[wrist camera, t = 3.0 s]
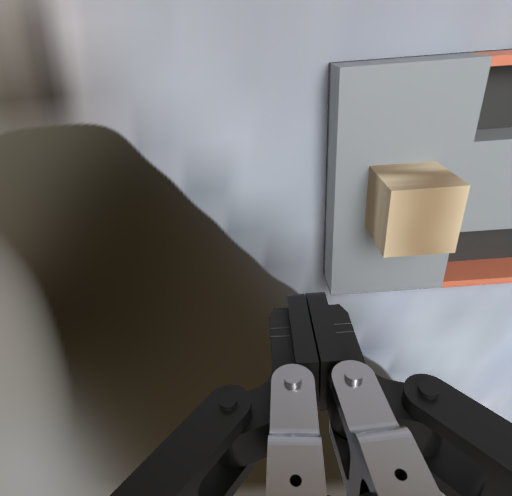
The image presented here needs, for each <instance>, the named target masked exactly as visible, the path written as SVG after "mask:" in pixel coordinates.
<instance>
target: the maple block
mask: <svg viewBox="0 0 512 496" xmlns="http://www.w3.org/2000/svg"><path fill="white" fill-rule="evenodd" d="M469 190H470V185H469V184H468V183H466V182H465V181H464V180H462V179H461V178H459V177H458V176H457V175H455V174H454V173H452V172H451V171H450V170H448V169H447V168H445V167H444V166H443V165H441V164H440V163H438V162H437V161H431V162H417V163H403V164H389V165H376V166H369V177H368V188H367V200H366V212H365V224H364V226H365V227H366V229H367V231H368V232H369V234H370V236H371V238H372V239H373V241H374V243H375V244H376V246H377V248H378V249H379V251H380V253H381V254H382V256H383V258H387V257H402V256H416V255H430V254H445V253H455V251H456V247H457V242H458V238H459V233H460V229H461V225H462V220H463V216H464V211H465V207H466V203H467V198H468V194H469Z"/></svg>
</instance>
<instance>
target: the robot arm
mask: <svg viewBox="0 0 512 496" xmlns="http://www.w3.org/2000/svg"><path fill="white" fill-rule="evenodd" d="M269 325H270V339H271V354H272V374H271V376H270V378H269V379H268V380H267V381H266V383H264V384H263V385H262V386H260V387H258V388H255V389H253V390H250V391H246V390H245V389H244V388H242V387H240V386H236V385H225V386H222V387H219V388H217V389H216V390H214V391H213V392H212V393H211V394H210V395H209V396H208V397H207V398H206V399H205V400H204V401H203V402H202V403H201V404H200V405H199V406H198V407H197V408H196V409H195V410H194V411H193V412H192V413H191V414H190V415H189V416H188V417H187V418H186V419H185V420H184V421H183V422H182V423H181V424H180V425H179V426H178V427H177V428H176V429H175V430H174V431H173V432H172V433H171V434H170V435H169V436H168V437H167V439H165V440H164V441H163V442H162V443H161V445H159V446H158V448H156V449H155V450H154V452H153V453H152V454H151V455H150V456H149V457H148V458H147V459H146V460H145V461H144V462H143V463H142V464H141V465H140V466H139V467H138V468H137V469H136V470H135V471H134V472H133V473H132V474H131V475H130V476H129V477H128V478H127V479H126V480H125V481H124V482H123V483H122V484H121V485H120V486H119V487H118V488H117V489H116V490H115V491H114V492H113V493H112V494H111V495H110V496H233V495H234V494H235V492H236V491H237V489H238V488H239V487H240V485H241V484H242V483H243V481H244V480H245V479H246V477H247V476H248V475H249V473H250V472H251V470H252V469H253V468H254V466H255V464H256V461H258V460H260V459H263V458H265V457H267V477H266V496H329V495H327V492H326V481H325V471H324V460H323V450H322V440H321V435H320V433H319V423H318V412H317V411H318V401H319V407H320V411H323V410H328V414H329V419H330V426H329V431H330V435H331V439H332V442H333V446H334V449H335V453H336V456H337V460H338V463H339V467H340V470H341V474H342V477H343V481H344V485H345V489H346V494H347V496H442V495H441V493H440V491H441V492H442V493H444V494H445V495H446V496H512V423H511V422H509V421H507V420H506V419H504V418H503V417H501V416H499V415H498V414H496V413H494V412H493V411H491V410H489V409H488V408H486V407H485V406H483V405H481V404H480V403H478V402H476V401H475V400H473V399H471V398H470V397H468V396H467V395H465V394H463V393H462V392H460V391H458V390H457V389H455V388H453V387H452V386H450V385H448V384H447V383H445V382H444V381H442V380H440V379H438V378H437V377H434V376H431V375H427V374H415V375H412V376H410V377H409V378H407V379H406V381H405V383H403V382H398V381H393V380H388V379H385V378H382V377H380V376H378V375H376V374H375V373H374V372H373V370H372V369H371V368H370V367H369V366H367V365H366V363H365V361H364V358H363V355H362V352H361V349H360V346H359V344H358V341H357V338H356V335H355V333H354V329H353V326H352V324H351V321H350V318H349V315H348V312H347V311H346V310H345V309H344V308H343V307H342V306H340V305H339V304H336V305H328V302H327V298H326V295H325V293H324V292H319V293H306V294H290V295H286V308H278V309H273V311H272V313H271V315H270V317H269ZM439 490H440V491H439Z"/></svg>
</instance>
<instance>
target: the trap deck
mask: <svg viewBox="0 0 512 496" xmlns="http://www.w3.org/2000/svg"><path fill="white" fill-rule="evenodd" d="M431 161H437V162H438V163H440V164H441V165H443V166H444V167H445V168H447V169H448V170H450V171H451V172H452V173H454V174H455V175H457V176H458V177H459V178H461V179H462V180H464V181H465V182H466V183H468V184H469V185H470V190H469V194H468V198H467V203H466V207H465V211H464V216H463V220H462V225H461V229H460V233H459V238H458V242H457V247H456V251H455V253H445V254H430V255H416V256H402V257H387V258H383V256H382V254H381V253H380V251H379V249H378V248H377V246H376V244H375V243H374V241H373V239H372V238H371V236H370V234H369V232H368V231H367V229H366V227H365V226H364V224H365V212H366V200H367V188H368V177H369V166H376V165H389V164H403V163H417V162H431ZM324 275H325V278H326V281H327V284H328V287H329V291H330V294H331V295H339V294H354V293H368V292H383V291H398V290H412V289H427V288H442V287H456V286H471V285H486V284H500V283H512V49H503V50H489V51H476V52H463V53H450V54H437V55H424V56H410V57H397V58H384V59H371V60H358V61H344V62H331V63H329V90H328V127H327V164H326V201H325V239H324Z"/></svg>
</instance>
